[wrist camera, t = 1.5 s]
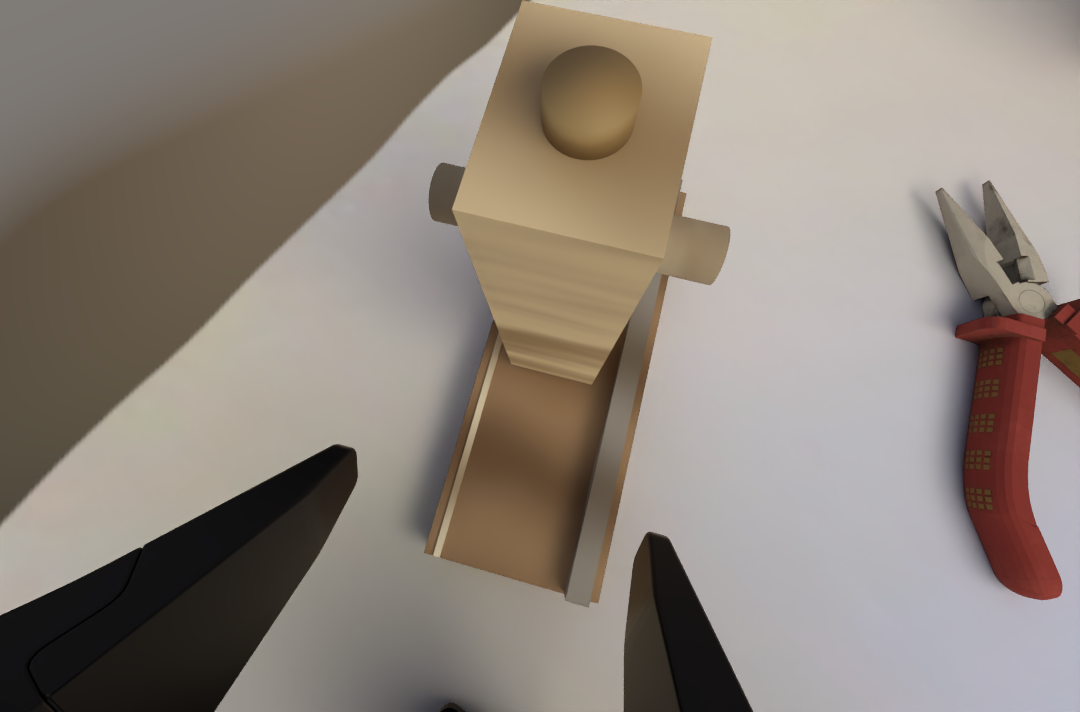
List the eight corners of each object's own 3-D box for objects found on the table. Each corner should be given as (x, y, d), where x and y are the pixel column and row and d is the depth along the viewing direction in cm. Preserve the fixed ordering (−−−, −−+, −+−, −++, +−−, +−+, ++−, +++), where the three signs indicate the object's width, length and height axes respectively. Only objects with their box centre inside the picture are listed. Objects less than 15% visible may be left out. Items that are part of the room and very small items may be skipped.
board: (594, 593, 21) (600, 610, 19) (432, 546, 22) (417, 557, 20) (678, 208, 26) (692, 182, 23) (541, 177, 26) (540, 149, 24)
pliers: (1040, 180, 26) (1092, 150, 24) (1218, 548, 22) (1306, 560, 19) (845, 216, 26) (877, 190, 24) (984, 594, 22) (1042, 612, 19)
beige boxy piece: (632, 395, 22) (799, 265, 7) (471, 354, 22) (331, 158, 8) (653, 298, 23) (836, 19, 8) (499, 262, 23) (421, -59, 9)
